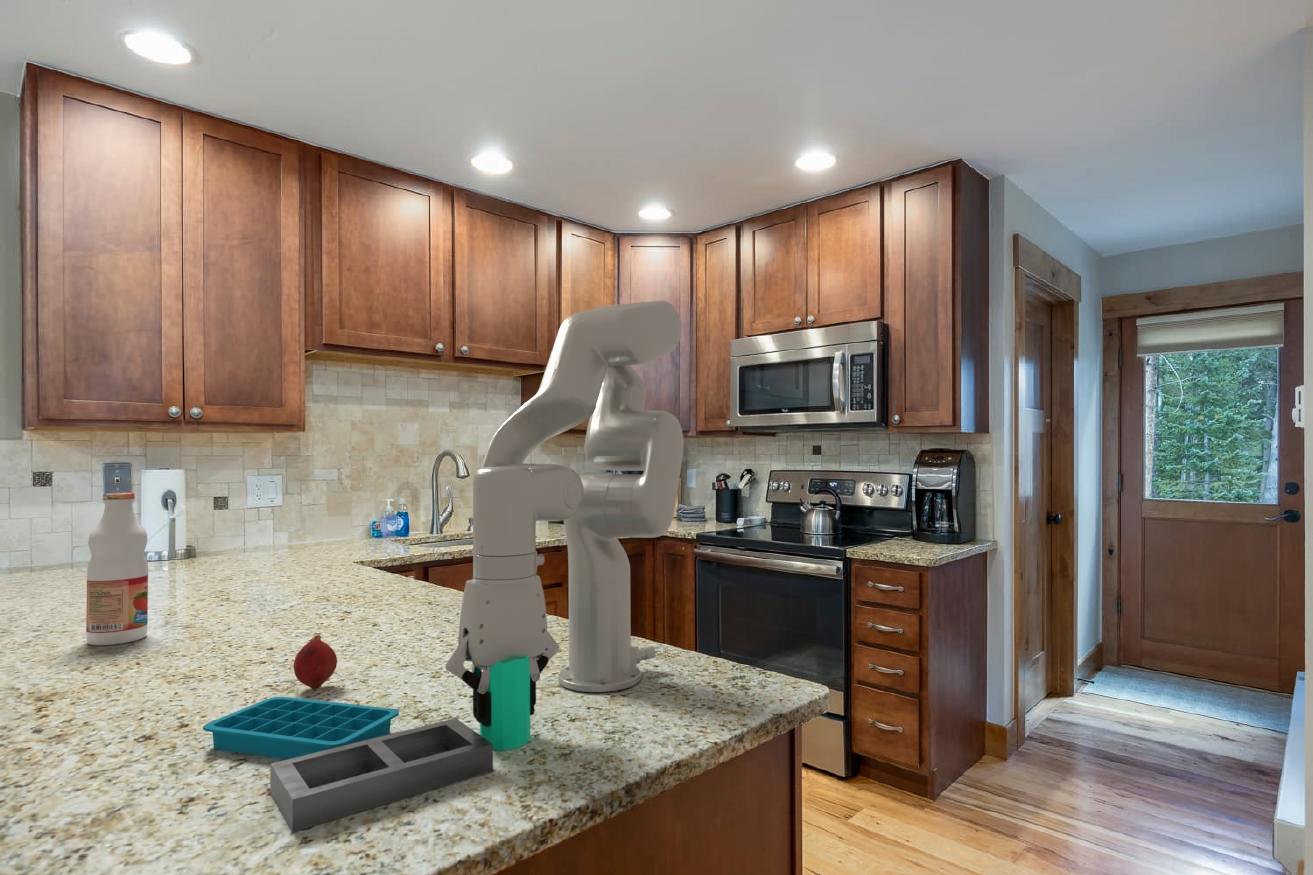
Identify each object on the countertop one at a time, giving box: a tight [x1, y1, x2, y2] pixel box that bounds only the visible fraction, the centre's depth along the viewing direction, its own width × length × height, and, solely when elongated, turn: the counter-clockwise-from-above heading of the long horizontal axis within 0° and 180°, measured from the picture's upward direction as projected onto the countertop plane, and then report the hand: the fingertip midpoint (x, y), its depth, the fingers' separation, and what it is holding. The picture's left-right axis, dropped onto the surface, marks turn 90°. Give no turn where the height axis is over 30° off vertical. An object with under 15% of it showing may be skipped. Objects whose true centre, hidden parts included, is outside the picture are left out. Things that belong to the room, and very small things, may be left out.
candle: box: [479, 656, 531, 752], centre depth 87 cm, size 6×6×12 cm
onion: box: [293, 634, 338, 690], centre depth 107 cm, size 6×6×8 cm
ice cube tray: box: [202, 696, 400, 760], centre depth 88 cm, size 12×20×3 cm, turn 73°
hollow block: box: [269, 717, 494, 833], centre depth 76 cm, size 20×10×3 cm, turn 129°
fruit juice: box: [85, 492, 149, 646], centre depth 138 cm, size 9×9×28 cm
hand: (505, 716), depth 87 cm, fingers closed on candle, 4 cm apart
